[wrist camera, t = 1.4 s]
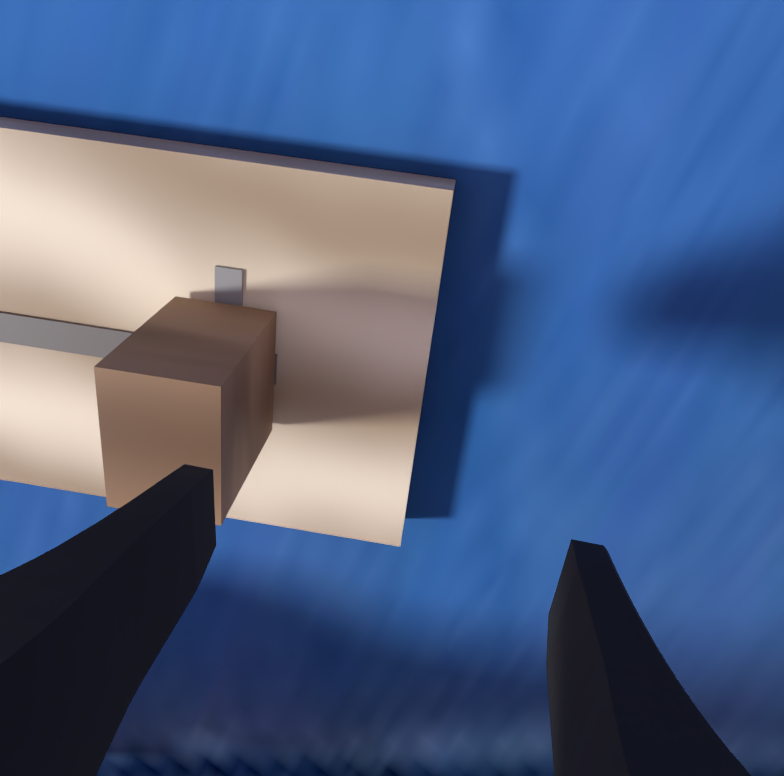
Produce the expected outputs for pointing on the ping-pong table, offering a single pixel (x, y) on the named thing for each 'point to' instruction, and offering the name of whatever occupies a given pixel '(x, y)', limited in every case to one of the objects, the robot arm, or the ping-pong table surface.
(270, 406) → the fader knob
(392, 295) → the fader panel
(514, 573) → the ping-pong table surface
